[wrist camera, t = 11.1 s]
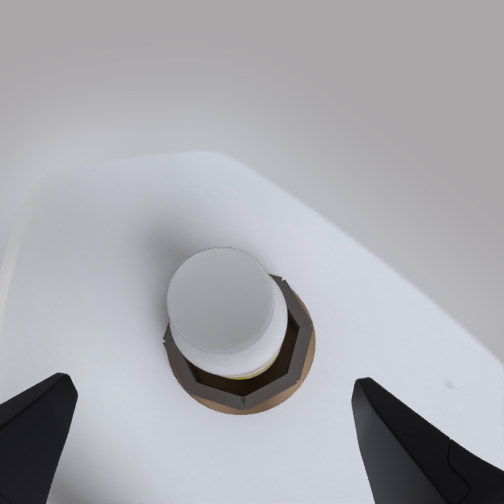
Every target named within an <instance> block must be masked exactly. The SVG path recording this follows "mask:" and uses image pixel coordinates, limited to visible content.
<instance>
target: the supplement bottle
mask: <svg viewBox="0 0 504 504" xmlns="http://www.w3.org/2000/svg"><path fill="white" fill-rule="evenodd" d="M166 305H167V312H168V315H169V322H170V329H171V333H172V336H173V339H174V341H175V343H176V345H177V347H178V349H179V350H180V352H181V353H182V354H183V355H184V356H185V357H186V358H187V359H188V360H189V361H190V362H191V363H193V364H194V365H195V366H197V367H199V368H200V369H203V370H204V371H207V372H209V373H212V374H216V375H219V376H222V377H225V378H229V379H235V380H244V379H249V378H253V377H255V376H258V375H260V374H261V373H263V372H264V371H266V370H267V369H268V368H269V367H270V366H271V365H272V364H273V363H274V361H275V360H276V358H277V356H278V354H279V351H280V348H281V345H282V343H283V340H284V337H285V333H286V328H287V306H286V302H285V299H284V296H283V294H282V292H281V290H280V288H279V286H278V285H277V283H276V282H275V281H274V280H273V279H272V278H271V277H270V276H269V275H268V273H267V271H266V270H265V268H264V267H263V266H262V264H261V263H260V262H259V261H258V260H256V259H255V258H254V257H252V256H251V255H249V254H247V253H245V252H243V251H241V250H238V249H234V248H228V247H215V248H210V249H206V250H203V251H200V252H198V253H196V254H194V255H192V256H191V257H189V258H188V259H187V260H185V261H184V262H183V263H182V264H181V265H180V266H179V267H178V269H177V270H176V272H175V273H174V275H173V276H172V278H171V281H170V283H169V286H168V290H167V296H166Z"/></svg>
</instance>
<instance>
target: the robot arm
mask: <svg viewBox="0 0 504 504" xmlns="http://www.w3.org/2000/svg"><path fill="white" fill-rule="evenodd" d="M77 399H78V393H77V390H76V388H75V386H74V384H73V382H72V380H71V378H70V376H69V375H68V374H65V373H56V374H54V375H52V376H50V377H49V378H47V379H45V380H43V381H42V382H40V383H38V384H36V385H34V386H33V387H31V388H29V389H27V390H26V391H24V392H22V393H20V394H18V395H17V396H15V397H13V398H11V399H9V400H8V401H6V402H4V403H2V404H0V504H46V502H47V498H48V494H49V491H50V488H51V484H52V481H53V478H54V474H55V471H56V468H57V465H58V462H59V459H60V456H61V453H62V450H63V447H64V445H65V442H66V439H67V436H68V433H69V429H70V425H71V421H72V417H73V414H74V410H75V406H76V403H77ZM351 403H352V410H353V415H354V421H355V427H356V432H357V439H358V444H359V449H360V452H361V456H362V459H363V463H364V466H365V469H366V473H367V476H368V480H369V483H370V487H371V490H372V494H373V497H374V501H375V504H504V471H503V470H501V469H499V468H497V467H495V466H493V465H491V464H490V463H488V462H486V461H484V460H482V459H481V458H479V457H477V456H476V455H474V454H472V453H471V452H469V451H468V450H466V449H465V448H463V447H462V446H460V445H459V444H458V443H456V442H455V441H454V440H452V439H450V438H449V437H448V436H447V435H445V434H444V433H443V432H441V431H440V430H439V429H437V428H436V427H435V426H433V425H432V424H431V423H429V422H428V421H427V420H425V419H424V418H423V417H421V416H420V415H419V414H417V413H416V412H415V411H413V410H412V409H411V408H409V407H408V406H407V405H405V404H404V403H403V402H401V401H400V400H399V399H398V398H396V397H395V396H394V395H392V394H391V393H390V392H388V391H387V390H386V389H385V388H383V387H382V386H381V385H379V384H378V383H377V382H375V381H374V380H373V379H372V378H370V377H366V378H359V379H357V380H356V381H355V385H354V390H353V394H352V400H351Z"/></svg>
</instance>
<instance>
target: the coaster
mask: <svg viewBox="0 0 504 504" xmlns="http://www.w3.org/2000/svg"><path fill="white" fill-rule="evenodd" d="M268 275H269V276H270V277H271V278H272V279H273V280H274V281H275V282H276V283H277V285H278V286H279V288H280V290H281V292H282V294H283V296H284V299H285V302H286V306H287V328H286V333H285V337H284V340H283V343H282V345H281V348H280V351H279V354H278V356H277V358H276V360H275V361H274V363H273V364H272V365H271V366H270V367H269V368H268V369H267V370H266V371H264V372H263V373H261V374H260V375H258V376H255V377H253V378H249V379H244V380H235V379H229V378H225V377H222V376H219V375H216V374H212V373H209V372H207V371H204V370H203V369H200V368H199V367H197V366H195V365H194V364H193V363H191V362H190V361H189V360H188V359H187V358H186V357H185V356H184V355H183V354H182V353H181V352H180V350H179V349H178V347H177V345H176V343H175V341H174V339H173V336H172V333H171V329H170V322H169V324H168V326H167V329H166V332H165V335H164V337H163V339H164V340H166V342H164V343H163V344H164V346H165V348H166V350H167V353H168V358H169V362H170V366H171V368H172V371H173V373H174V375H175V377H176V379H177V380H178V382H179V383H180V385H181V386H182V387H183V389H184V390H185V391H186V392H187V393H188V394H189V395H190V396H191V397H192V398H194V399H195V400H196V401H198V402H199V403H201V404H203V405H204V406H206V407H208V408H210V409H213V410H215V411H218V412H222V413H226V414H234V415H248V414H254V413H259V412H263V411H266V410H269V409H271V408H273V407H275V406H277V405H279V404H280V403H282V402H284V401H285V400H287V399H288V398H289V397H290V396H291V395H292V394H294V392H295V391H296V390H297V389H298V388H299V387H300V386H301V384H302V383H303V381H304V380H305V378H306V376H307V374H308V372H309V370H310V368H311V365H312V362H313V358H314V353H315V331H314V327H313V322H312V319H311V317H310V314H309V312H308V310H307V308H306V307H305V305H304V303H303V302H302V301H301V299H300V298H299V297H298V296H297V295H296V294H295V293H294V291H293V290H291V288H290V286H289V285H288V283H287V282H286V280H283V281H282V277H279V276H275V275H271V274H268Z"/></svg>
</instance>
